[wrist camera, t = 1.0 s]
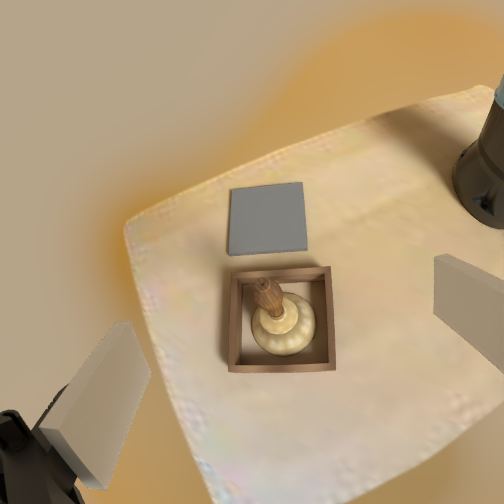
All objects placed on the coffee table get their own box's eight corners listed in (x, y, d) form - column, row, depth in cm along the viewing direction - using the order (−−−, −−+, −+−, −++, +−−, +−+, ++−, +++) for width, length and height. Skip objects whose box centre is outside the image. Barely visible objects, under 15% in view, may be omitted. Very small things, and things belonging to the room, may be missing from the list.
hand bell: (259, 289, 42) (224, 235, 28) (320, 297, 40) (319, 245, 26) (245, 349, 39) (200, 326, 25) (309, 360, 37) (302, 346, 23)
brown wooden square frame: (330, 274, 41) (330, 266, 38) (334, 370, 35) (335, 369, 33) (237, 280, 43) (231, 272, 40) (234, 372, 38) (228, 371, 35)
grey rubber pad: (302, 185, 47) (302, 182, 46) (307, 250, 43) (307, 248, 42) (233, 192, 49) (232, 189, 49) (230, 256, 45) (228, 253, 44)
